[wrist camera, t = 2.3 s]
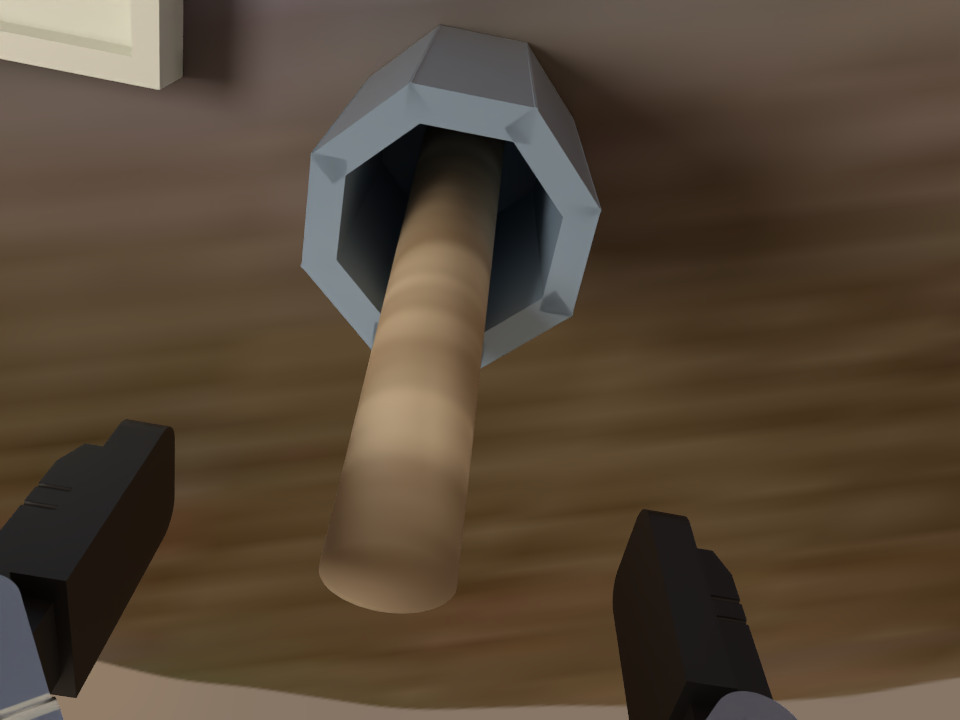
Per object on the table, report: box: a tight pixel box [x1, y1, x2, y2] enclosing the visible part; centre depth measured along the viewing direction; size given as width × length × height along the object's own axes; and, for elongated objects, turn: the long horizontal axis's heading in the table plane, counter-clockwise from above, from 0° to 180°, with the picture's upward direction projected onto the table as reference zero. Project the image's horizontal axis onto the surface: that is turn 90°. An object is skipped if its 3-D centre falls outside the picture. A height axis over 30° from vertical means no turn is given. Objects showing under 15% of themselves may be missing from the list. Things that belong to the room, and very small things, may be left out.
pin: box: [319, 125, 505, 613], centre depth 20 cm, size 6×2×16 cm, turn 169°
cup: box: [301, 24, 602, 368], centre depth 23 cm, size 7×7×9 cm
